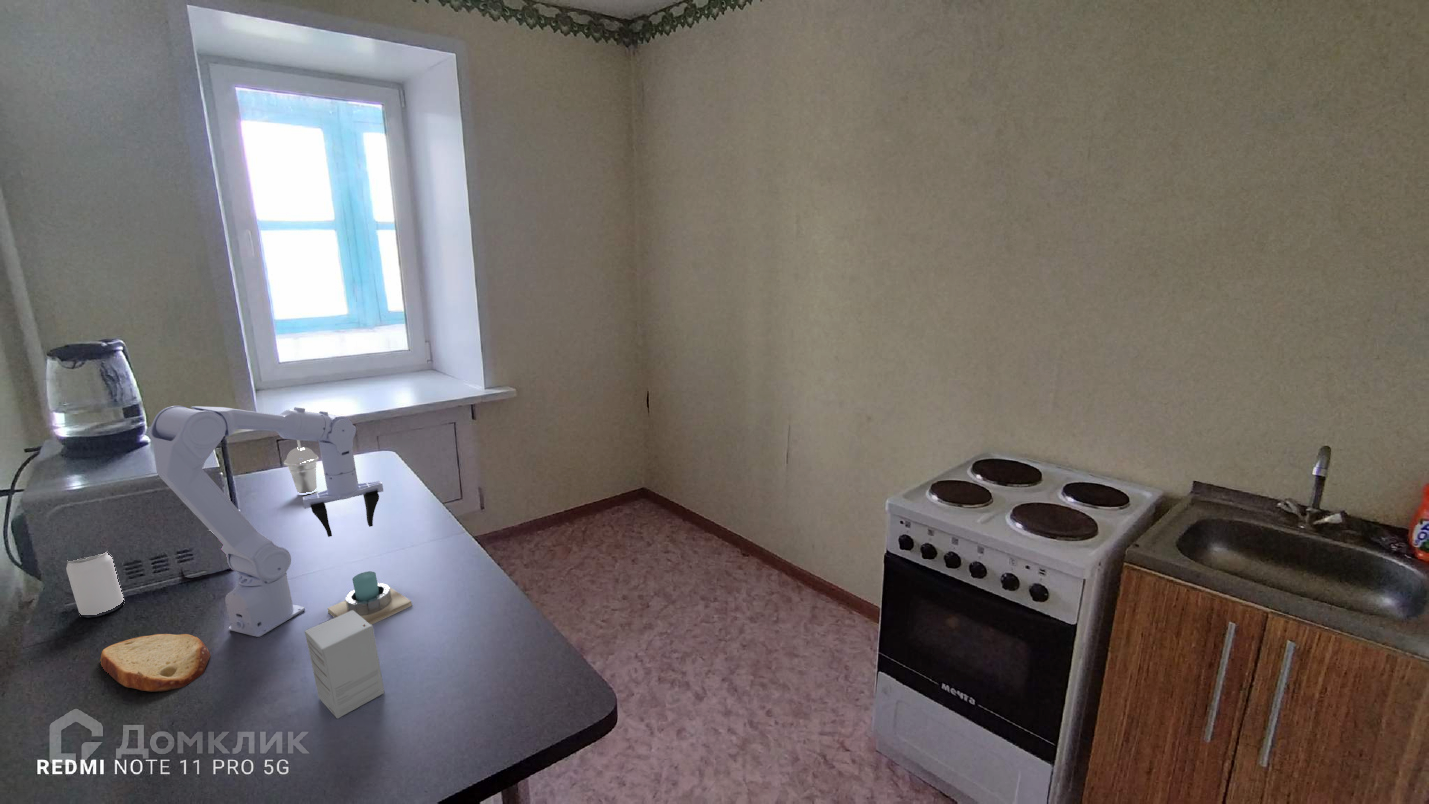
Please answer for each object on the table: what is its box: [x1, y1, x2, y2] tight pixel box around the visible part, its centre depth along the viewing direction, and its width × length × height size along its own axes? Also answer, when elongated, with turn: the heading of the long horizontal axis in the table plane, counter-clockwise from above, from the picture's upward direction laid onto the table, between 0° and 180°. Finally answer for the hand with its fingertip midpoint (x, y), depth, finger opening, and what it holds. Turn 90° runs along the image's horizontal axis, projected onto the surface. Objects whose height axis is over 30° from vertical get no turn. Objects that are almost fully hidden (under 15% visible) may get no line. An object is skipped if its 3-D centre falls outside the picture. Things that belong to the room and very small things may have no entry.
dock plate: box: [327, 586, 413, 626], centre depth 122 cm, size 11×11×1 cm
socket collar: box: [344, 582, 392, 616], centre depth 122 cm, size 8×8×2 cm
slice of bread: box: [99, 633, 211, 693], centre depth 106 cm, size 18×18×4 cm
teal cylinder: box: [352, 570, 380, 602], centre depth 122 cm, size 4×4×6 cm
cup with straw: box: [283, 440, 320, 493], centre depth 177 cm, size 8×9×20 cm
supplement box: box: [304, 610, 385, 719], centre depth 97 cm, size 7×7×13 cm
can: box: [65, 550, 125, 615], centre depth 121 cm, size 6×6×12 cm
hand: (350, 529), depth 133 cm, fingers open, 7 cm apart
